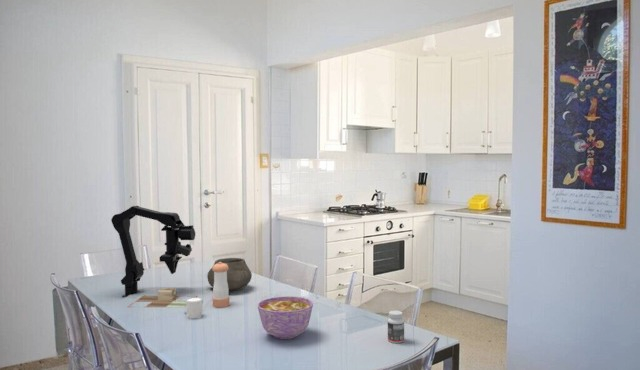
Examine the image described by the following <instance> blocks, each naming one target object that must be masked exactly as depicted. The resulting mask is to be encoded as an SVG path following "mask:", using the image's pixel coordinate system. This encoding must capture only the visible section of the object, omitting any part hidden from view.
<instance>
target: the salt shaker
mask: <svg viewBox="0 0 640 370" xmlns="http://www.w3.org/2000/svg"><path fill="white" fill-rule="evenodd" d="M211 268H212V270H213V271H214V287H212V291H213V292H212V293H213V295H212V296H213V297H212V307H213V308H227V307H229V306H230V299H231V298H230V296H229V292H230V291H229V289H228V283H227V270H228V265H227V264H224V263H222V262H219V263H218V264H215V265H214V264H213V265H212V266H211Z"/></svg>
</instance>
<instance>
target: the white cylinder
mask: <svg viewBox="0 0 640 370" xmlns="http://www.w3.org/2000/svg"><path fill="white" fill-rule="evenodd" d="M185 301H186V307H185V308H186V314H187V318H188V319H192V320H193V319H199V317H200V318H201V317H202V315H203V303H204V299H203V298H202V297H196V298H195V297H190V298H186V299H185Z"/></svg>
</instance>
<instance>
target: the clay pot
mask: <svg viewBox="0 0 640 370" xmlns="http://www.w3.org/2000/svg"><path fill="white" fill-rule="evenodd" d="M219 262H222V263H224V264H227V265H228V270H227V283H228V289H229V292H234V291H239V290H242V289H244V288H245V287H246V286H247V285H249V284H250V282H251V280H252V275H253V274H252V271H251V270H250V268H249V267H248V264H247V263H246V261H245V259H244V258H241V257H225V258H218V259H216V260H215V261H214V263H213V265H215V264H218V263H219ZM206 278H207V281H208V282H207V283H208V285H210V286H211V287H212V288H213V287H214V271H213V270H212V267H211V268H210V269H209V270H208V272H207V277H206Z"/></svg>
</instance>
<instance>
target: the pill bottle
mask: <svg viewBox="0 0 640 370" xmlns="http://www.w3.org/2000/svg"><path fill="white" fill-rule="evenodd" d="M403 315H404V314H403V311H400V310H390V311H389V312H388V317H389V318H387V341H388V342H390V343H393V344H401V343H403V342H404V341H405V320H404V318H403Z"/></svg>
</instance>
